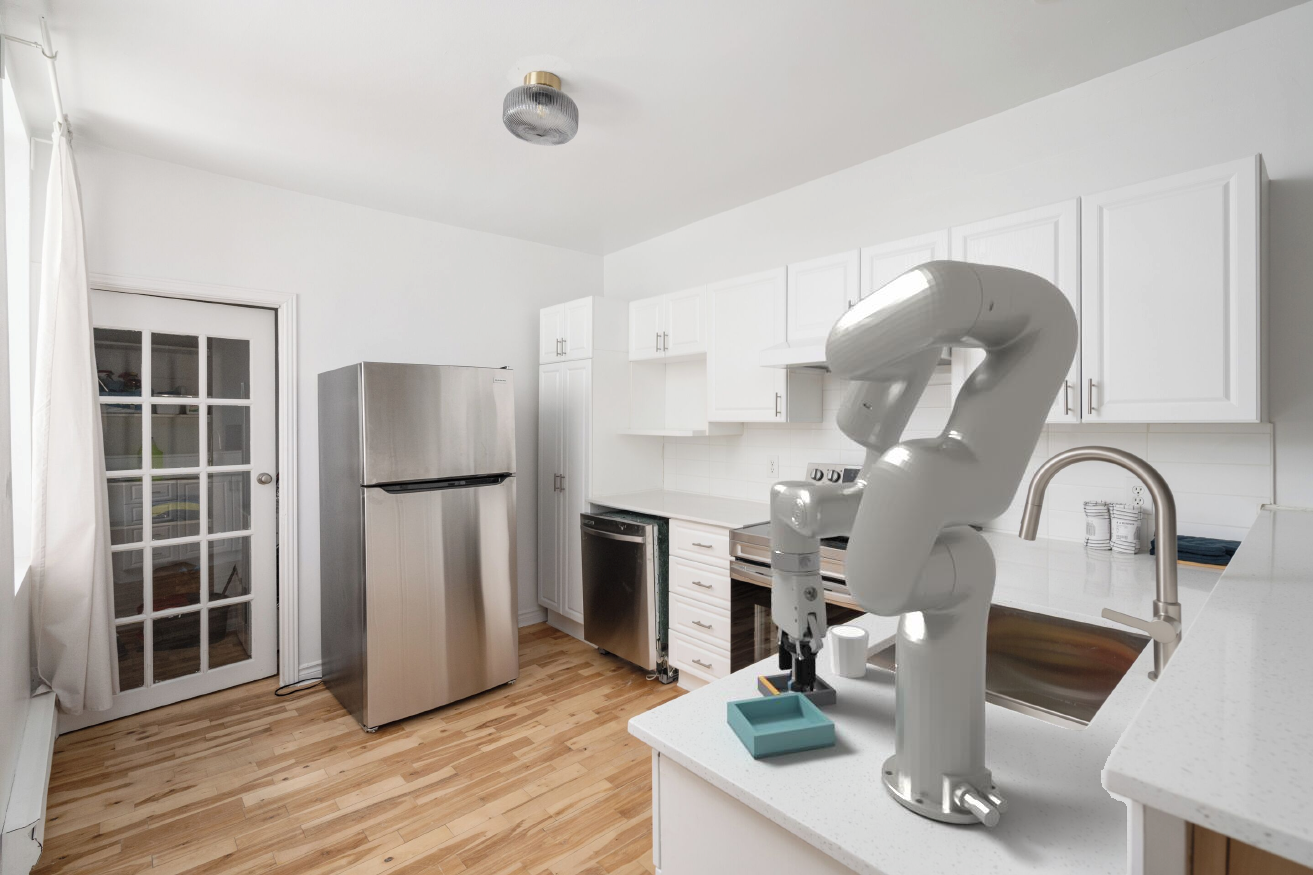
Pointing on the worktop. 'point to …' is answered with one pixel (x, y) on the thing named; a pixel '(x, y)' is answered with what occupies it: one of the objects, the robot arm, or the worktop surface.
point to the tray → (780, 725)
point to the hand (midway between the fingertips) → (796, 674)
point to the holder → (819, 697)
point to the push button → (791, 647)
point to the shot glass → (848, 650)
